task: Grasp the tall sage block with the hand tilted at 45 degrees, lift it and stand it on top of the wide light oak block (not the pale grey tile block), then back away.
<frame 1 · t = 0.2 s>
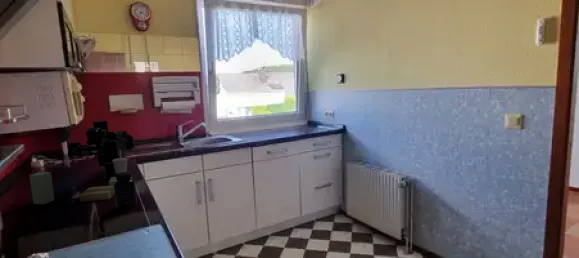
hand: (85, 153, 131), 17 cm above the countertop, tool horizontal, fingers open, 9 cm apart
smoothie: (122, 180, 153), on the countertop, touching arm
grey tile block: (121, 187, 142), on the countertop
sage block: (44, 201, 125), on the countertop
supplement bottle: (126, 206, 118), on the countertop
oak block: (99, 197, 130), on the countertop
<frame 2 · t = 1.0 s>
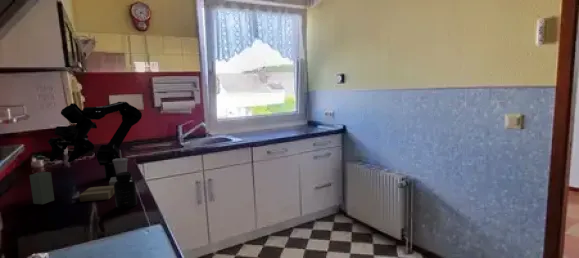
hand: (59, 161, 131), 14 cm above the countertop, tool tilted 45°, fingers open, 9 cm apart
smoothie: (122, 180, 153), on the countertop
everything else where it was.
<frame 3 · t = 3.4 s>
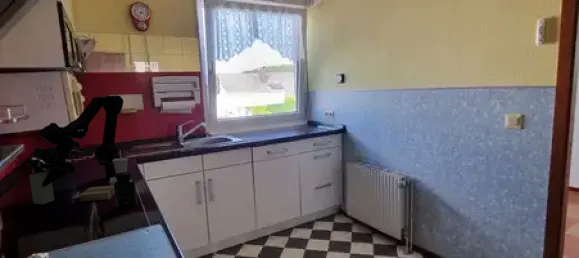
hand: (38, 186, 123), 7 cm above the countertop, tool tilted 45°, fingers closed on sage block, 5 cm apart
sage block: (44, 201, 125), on the countertop, touching gripper
everything else where it was.
when the fingers open (10 cm above the countertop, at t = 8.0 s): sage block stays where it is, point 2 cm above the countertop.
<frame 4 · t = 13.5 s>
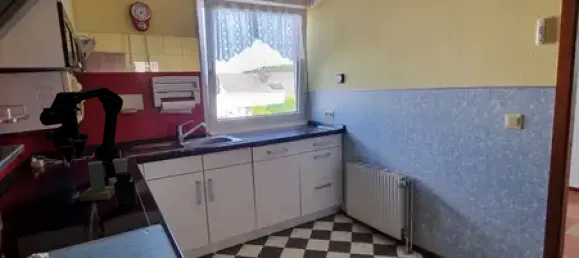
hand: (74, 160, 137), 13 cm above the countertop, tool pointing down, fingers open, 9 cm apart
sage block: (98, 190, 130), point 2 cm above the countertop
at the end: sage block inside the target area on the oak block (0.2 cm from its centre), point 3.0 cm above the oak block's base; sage block tilted 1°; the gripper is holding nothing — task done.
